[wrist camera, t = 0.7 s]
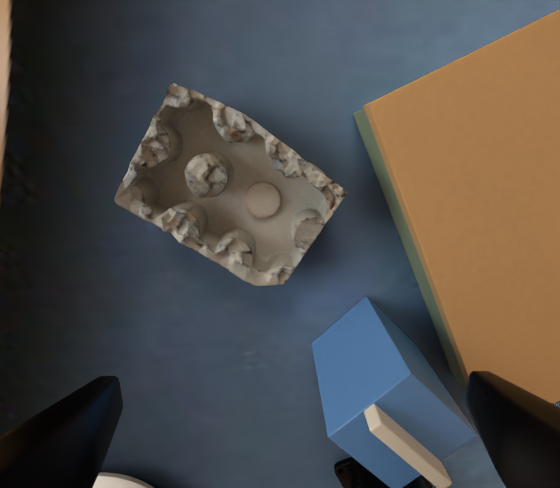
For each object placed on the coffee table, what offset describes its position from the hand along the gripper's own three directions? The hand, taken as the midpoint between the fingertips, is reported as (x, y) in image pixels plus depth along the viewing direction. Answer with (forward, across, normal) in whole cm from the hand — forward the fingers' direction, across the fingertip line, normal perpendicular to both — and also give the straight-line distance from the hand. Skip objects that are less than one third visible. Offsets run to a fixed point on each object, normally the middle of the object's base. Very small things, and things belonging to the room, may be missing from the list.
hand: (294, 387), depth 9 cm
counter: (+14, -13, -1) cm, 19 cm away
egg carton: (+14, +3, -3) cm, 15 cm away
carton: (+14, -6, +8) cm, 17 cm away
